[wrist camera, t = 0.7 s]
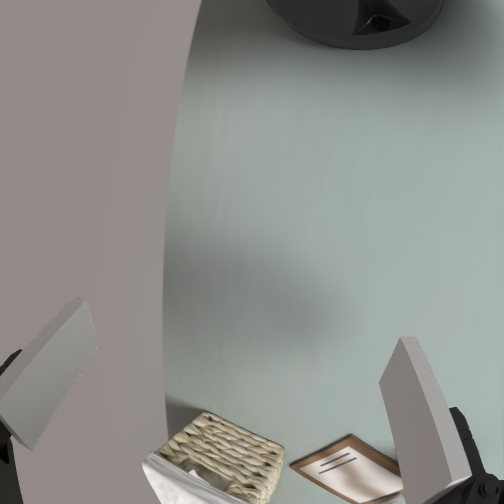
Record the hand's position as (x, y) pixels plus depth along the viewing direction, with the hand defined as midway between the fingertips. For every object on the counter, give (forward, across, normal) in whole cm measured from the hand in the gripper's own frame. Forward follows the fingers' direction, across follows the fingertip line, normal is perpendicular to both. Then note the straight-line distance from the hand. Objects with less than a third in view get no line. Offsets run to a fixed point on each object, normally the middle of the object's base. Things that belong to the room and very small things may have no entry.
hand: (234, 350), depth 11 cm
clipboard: (+7, +17, -31) cm, 36 cm away
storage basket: (+15, +1, -41) cm, 43 cm away
